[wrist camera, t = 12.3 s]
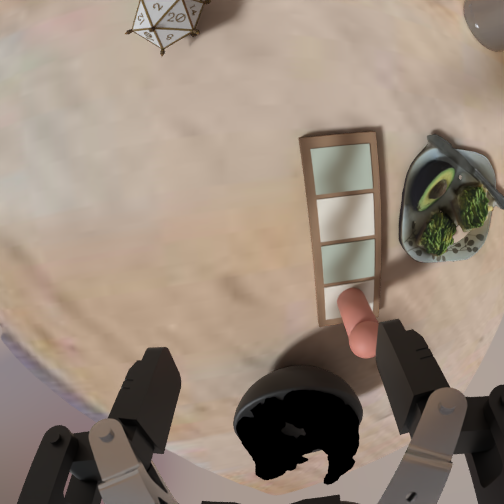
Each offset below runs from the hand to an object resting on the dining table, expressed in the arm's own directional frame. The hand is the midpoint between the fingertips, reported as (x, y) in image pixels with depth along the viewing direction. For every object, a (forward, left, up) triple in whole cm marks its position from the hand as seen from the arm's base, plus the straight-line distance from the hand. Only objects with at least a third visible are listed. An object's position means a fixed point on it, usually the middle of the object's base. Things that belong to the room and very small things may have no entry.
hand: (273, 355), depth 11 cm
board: (-9, +8, -28) cm, 31 cm away
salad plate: (-25, +5, -29) cm, 38 cm away
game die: (+7, -22, -28) cm, 37 cm away
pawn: (-9, +17, -26) cm, 33 cm away
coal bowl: (0, +34, -28) cm, 44 cm away
